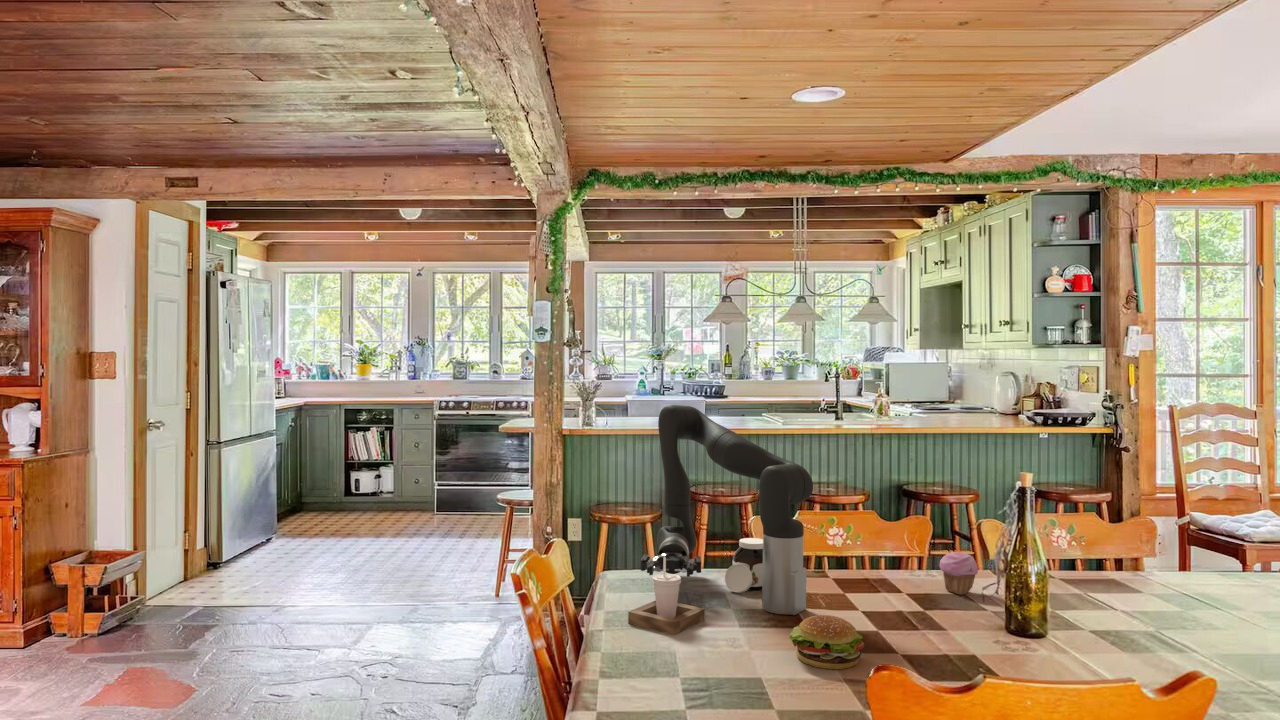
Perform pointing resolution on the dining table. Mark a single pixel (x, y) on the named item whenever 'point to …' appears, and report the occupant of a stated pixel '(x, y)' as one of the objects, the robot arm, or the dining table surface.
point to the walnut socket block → (666, 618)
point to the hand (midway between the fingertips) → (669, 571)
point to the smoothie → (666, 592)
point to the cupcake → (958, 572)
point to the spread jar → (746, 566)
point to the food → (827, 642)
